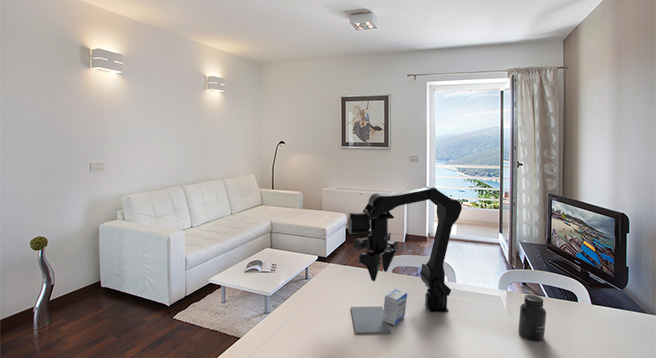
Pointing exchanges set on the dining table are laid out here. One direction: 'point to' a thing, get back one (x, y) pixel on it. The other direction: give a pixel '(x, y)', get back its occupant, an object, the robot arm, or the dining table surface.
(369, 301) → the dining table surface
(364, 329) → the mat
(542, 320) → the supplement bottle
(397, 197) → the robot arm
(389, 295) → the medicine box
